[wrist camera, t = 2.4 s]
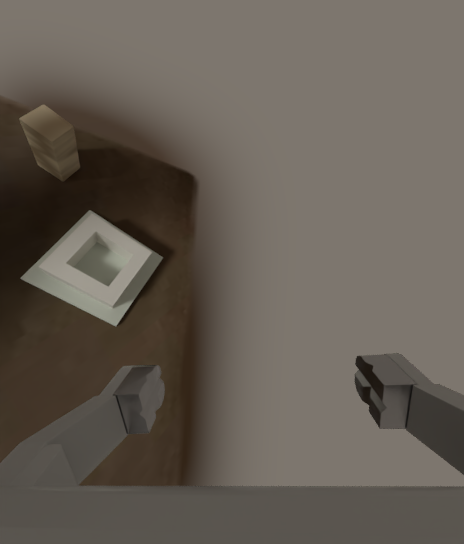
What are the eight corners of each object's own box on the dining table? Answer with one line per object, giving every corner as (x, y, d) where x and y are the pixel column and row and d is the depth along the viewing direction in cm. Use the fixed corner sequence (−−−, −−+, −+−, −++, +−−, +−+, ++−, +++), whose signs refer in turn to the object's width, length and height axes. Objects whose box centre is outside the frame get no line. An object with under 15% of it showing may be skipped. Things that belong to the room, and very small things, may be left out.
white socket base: (22, 279, 30) (7, 270, 26) (90, 212, 37) (87, 195, 32) (115, 326, 35) (117, 325, 30) (162, 259, 41) (169, 249, 36)
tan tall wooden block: (37, 165, 35) (18, 118, 27) (56, 151, 36) (43, 104, 29) (63, 181, 36) (51, 141, 28) (80, 167, 38) (73, 126, 30)
